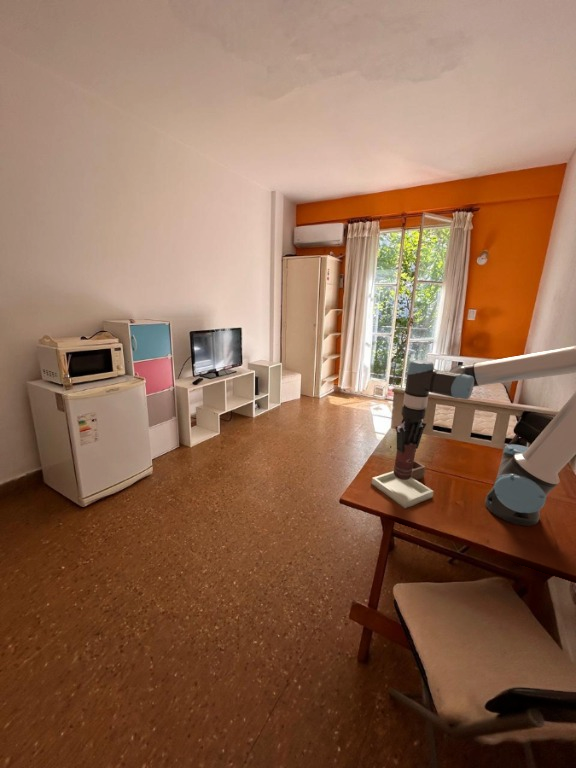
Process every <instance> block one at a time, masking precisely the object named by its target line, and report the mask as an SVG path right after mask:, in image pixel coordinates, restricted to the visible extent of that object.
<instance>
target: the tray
mask: <svg viewBox="0 0 576 768" xmlns="http://www.w3.org/2000/svg"><path fill="white" fill-rule="evenodd" d="M371 484H372V485H373V486H374V488H376V489H378V490H380V492H382V493H383V494H384V495H386V496H387V497H389V498H390V499H391V500H393V501H394V502H396V504H398V505H399V506H401V507H402V508H403V509H407V508H410V507H412V506H415V505H418V504H419V503H421V502H422V503H423V502H424V501H427V500H429V499H432V498H433V496H434V490H432V489H431V487H428V486H426V485H424V484H423V483H422V482H420V481H419V480H415V479H413V478H412V477H411V478H410V479H408V480H402V479H399V478H397V477H396V476H395V475H394V470H392V471H390V472H386V473H383V474H380V475H378V476H374V477H371Z"/></svg>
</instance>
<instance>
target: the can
mask: <svg viewBox="0 0 576 768" xmlns="http://www.w3.org/2000/svg"><path fill="white" fill-rule="evenodd" d="M416 446H417V445H416V442H415V443H411V442H410V443H409V445H406V444H405V451H404V453H402V452H400V451H398V450H397V449H396V455H395V461H394V467H393V468H394V469H393V471H394V475H395V476H396V477H397V478H399V479H402V480H408V479H410V478H411V474H412V468H413V463H414V460H415V456H416V452H417V449H416Z"/></svg>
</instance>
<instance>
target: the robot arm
mask: <svg viewBox="0 0 576 768" xmlns="http://www.w3.org/2000/svg"><path fill="white" fill-rule="evenodd" d="M434 366H435V364H434V363H433V362H432V361H428V360H423V359H418V360H417V359H414V360H411V361H410V362H409V364H408V369H407V373H406V381H405V388H404V396H403V402H402V403H403V404H402V406H401V407H402V408H401V411H400V412H401V413H400V414H401V416H402V420H401V422H400V423H401V424H400V425H396V426H395V428H394V429H395V431H396V451H397V450H398V451H400V452H402V453H404V451H405V444H406V445H409V443H410V442H411V443H415V442H416V445H417V446H416V450H418V448H419V445H420V442H421V439H422V436H423V433H424V429H425V428H426V426H427V423H426V422H424V421H423V420H424V419H425V418H426V411H427V409H426V408H427V407H428V402H429V401H428V400H429V395H430V394H429V393H432V394H437V395H442V396H447V397H449V398H450V397H451V398H454V399H462V400H468V399H470V398H471V396H472V393H473V390H474V387H479V386H480V387H481V386H486V385H494V384H501V383H502V384H503V383H508V382H517V381H524V380H532V379H537V378H538V379H539V378H547V377H554V376H562V375H569V374H576V344H575V345H572V346H567V347H561V348H556V349H551V350H545V351H540V352H539V351H538V352H533V353H526V354H522V355H518V356H511V357H510V356H509V357H505V358H499V359H494V360H488V361H481V362H478V363H472V364H459V365H456V366H453V367H452V368H451V369H450V370H449V371H445V370H439V369H436V368H435V367H434ZM575 455H576V391H575V392H574V394H572V396H571V397H570V398H569V399H568V400H567V402H566V403H565V404H564V405H563V406H562V407H561V408H560V410H559V411H558V412H557V413H556V415H554V417H553V418H552V419H551V421H550V422H549V423H548V424H547V425H546V426H545V427H544V429H543V430H542V431H541V433H539V434H538V436H537V437H536V438H535V440H534V441H533V442H532V443H531V444H530V446H525V445H520V444H506V445H505V447H504V448H503V450H502V455H501V461H500V463H499V468H498V472H497V475H496V478H495V480H494V483H493V486H492V488H491V489H490V491H489V492H488V493H487V494H486V496H485V500H484V505H485V508H487V510H488V511H489V512H490V513H491V514H493V515H495V516H496V517H498V518H499V519H501V520H503V521H506V522H508V523H510V524H514V525H518V526H523V527H525V526H526V527H531V526H532V527H533V526H535V525H537V524H538V522H539V520H540V517H541V514H540V513H541V512H540V511H541V510H542V509H543V507H544V505H545V503H546V502H547V496H548V495H549V493H551V491H552V490H554V488H555V487H556V486H557V485H558V484H559V483H560V478H559V474H558V473H559V472H561V470H563V468H565V466H566V465H567V464H568V463H569V462H570V461H571V460H572V459H573V458H574V456H575Z"/></svg>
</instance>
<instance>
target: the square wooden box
mask: <svg viewBox="0 0 576 768" xmlns="http://www.w3.org/2000/svg"><path fill="white" fill-rule="evenodd" d="M426 467H427V466H426V465H423V464H422V463H420V462H418V461H416V460H415V459H414V463H413V470H412V474H411V477H412V478H413V479H415V480H417V481H419V480H421V479H424V478H425V473H426Z"/></svg>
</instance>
